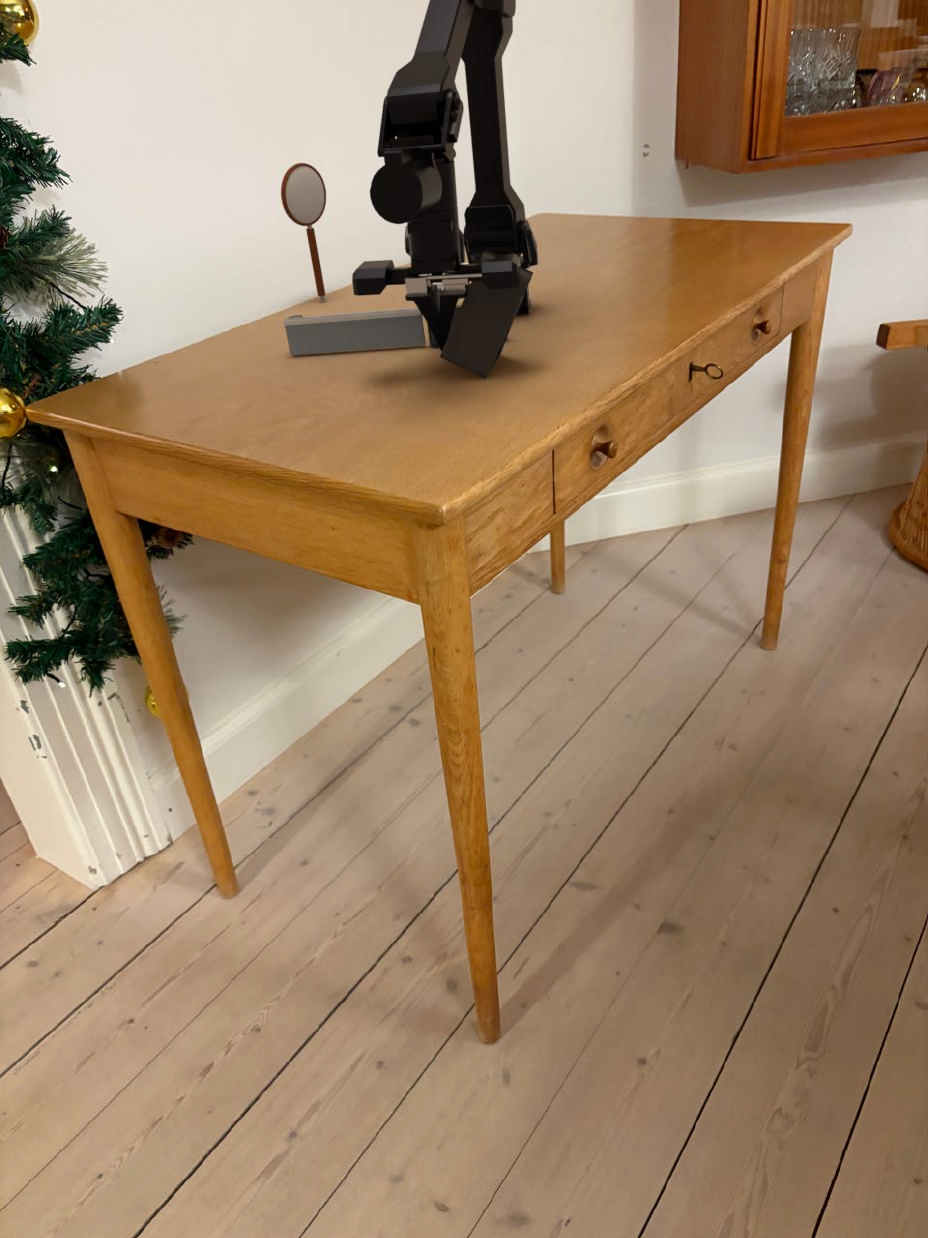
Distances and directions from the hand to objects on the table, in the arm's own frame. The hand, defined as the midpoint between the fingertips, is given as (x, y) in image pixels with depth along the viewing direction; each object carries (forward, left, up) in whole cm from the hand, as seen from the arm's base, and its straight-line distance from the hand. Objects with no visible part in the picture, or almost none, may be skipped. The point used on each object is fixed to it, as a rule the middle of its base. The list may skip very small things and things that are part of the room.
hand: (443, 350), depth 116 cm
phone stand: (-3, -2, -2) cm, 4 cm away
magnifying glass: (+24, -40, -3) cm, 47 cm away
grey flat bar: (+13, -12, -3) cm, 18 cm away
